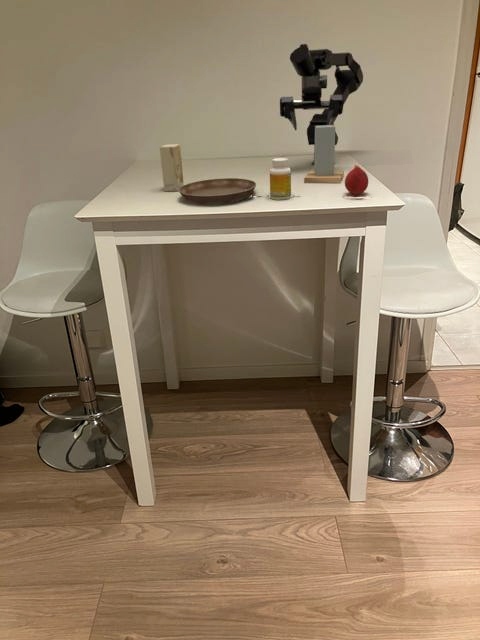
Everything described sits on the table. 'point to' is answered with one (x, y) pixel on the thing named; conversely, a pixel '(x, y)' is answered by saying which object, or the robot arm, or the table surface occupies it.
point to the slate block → (324, 150)
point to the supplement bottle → (280, 179)
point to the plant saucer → (217, 191)
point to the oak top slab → (324, 178)
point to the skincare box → (171, 167)
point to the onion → (356, 181)
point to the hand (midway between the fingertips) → (311, 128)
